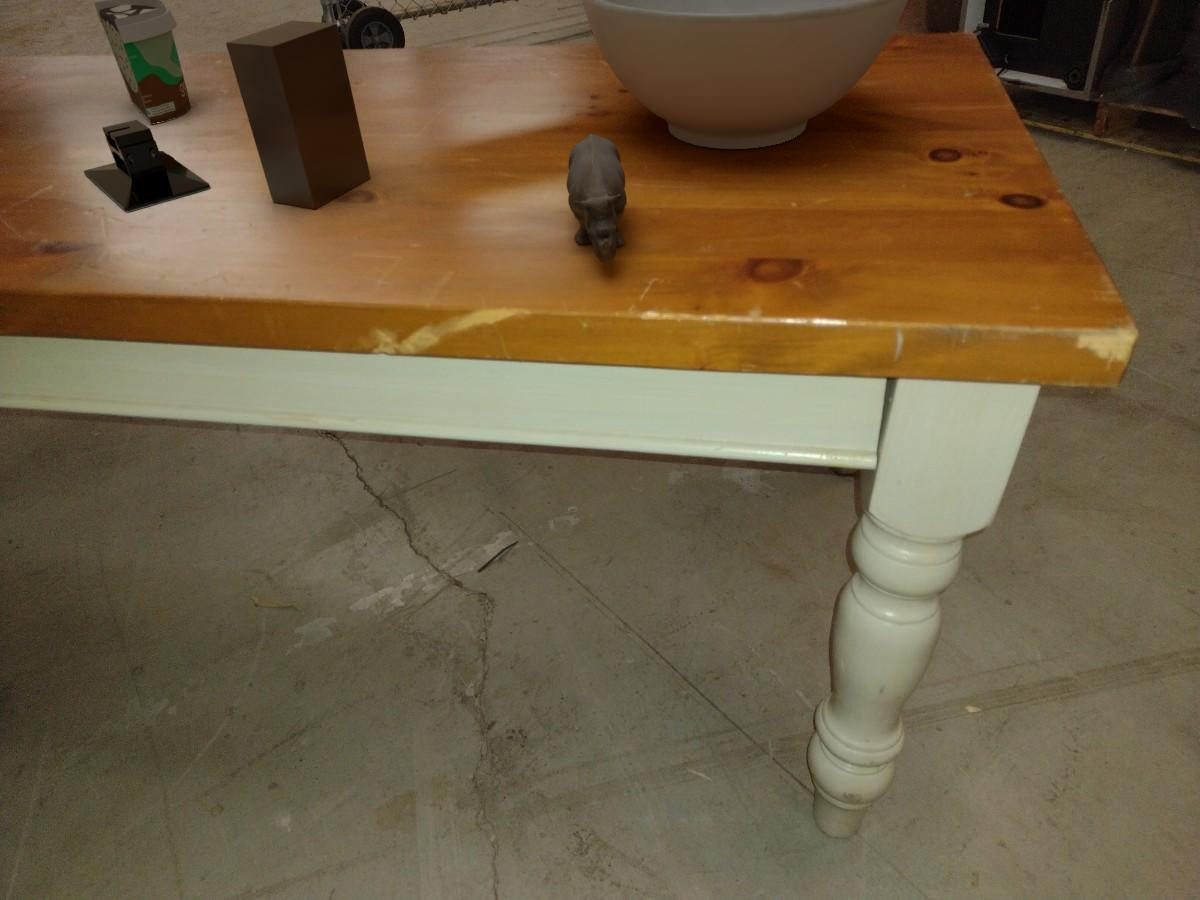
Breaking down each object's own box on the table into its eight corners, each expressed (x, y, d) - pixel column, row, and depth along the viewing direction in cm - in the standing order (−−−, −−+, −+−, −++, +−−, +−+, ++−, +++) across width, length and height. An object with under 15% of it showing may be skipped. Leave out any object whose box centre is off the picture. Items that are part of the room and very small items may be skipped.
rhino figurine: (572, 289, 56) (565, 198, 52) (569, 205, 66) (563, 125, 63) (635, 284, 56) (633, 194, 52) (622, 201, 66) (619, 121, 63)
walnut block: (272, 202, 70) (225, 42, 63) (329, 172, 75) (292, 20, 67) (315, 209, 68) (272, 46, 61) (371, 178, 73) (337, 23, 66)
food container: (216, 115, 90) (182, 9, 84) (154, 128, 87) (115, 20, 81) (187, 90, 98) (155, -9, 92) (130, 101, 95) (92, 1, 89)
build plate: (84, 175, 78) (62, 122, 75) (166, 154, 81) (148, 103, 78) (126, 212, 70) (102, 155, 67) (214, 187, 73) (196, 131, 70)
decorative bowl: (629, 80, 92) (626, -50, 84) (893, 87, 85) (914, -53, 78) (549, 172, 72) (535, 12, 64) (886, 191, 65) (914, 15, 58)
